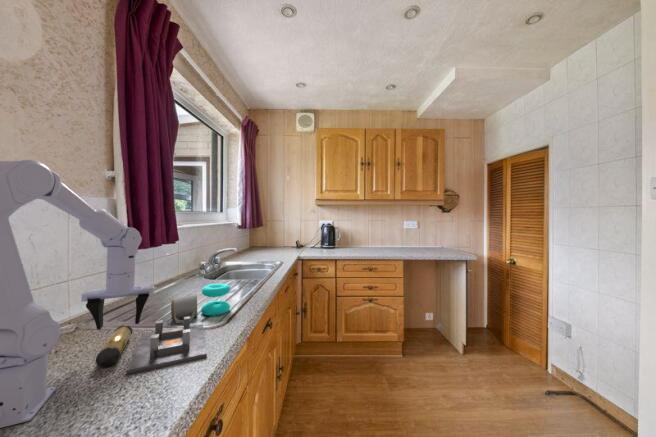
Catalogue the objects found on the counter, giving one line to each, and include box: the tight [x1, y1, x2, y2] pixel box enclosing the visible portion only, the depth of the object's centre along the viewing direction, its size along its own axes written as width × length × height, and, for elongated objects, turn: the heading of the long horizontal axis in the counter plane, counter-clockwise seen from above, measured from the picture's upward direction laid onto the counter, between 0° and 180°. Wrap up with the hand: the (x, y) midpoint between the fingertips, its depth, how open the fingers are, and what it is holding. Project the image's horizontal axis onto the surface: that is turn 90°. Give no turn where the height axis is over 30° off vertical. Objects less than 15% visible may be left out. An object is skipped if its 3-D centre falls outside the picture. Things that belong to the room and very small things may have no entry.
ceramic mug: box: [170, 294, 198, 324], centre depth 88 cm, size 11×8×8 cm
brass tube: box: [95, 324, 133, 368], centre depth 65 cm, size 16×4×4 cm, turn 29°
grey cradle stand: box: [125, 316, 208, 376], centre depth 68 cm, size 21×16×6 cm
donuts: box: [200, 282, 231, 317], centre depth 96 cm, size 10×10×10 cm
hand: (119, 325), depth 65 cm, fingers open, 7 cm apart
